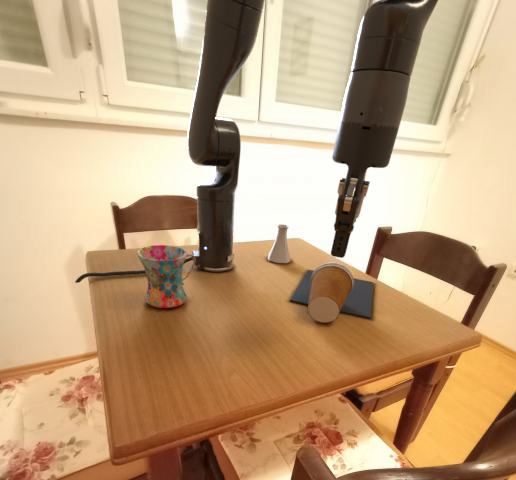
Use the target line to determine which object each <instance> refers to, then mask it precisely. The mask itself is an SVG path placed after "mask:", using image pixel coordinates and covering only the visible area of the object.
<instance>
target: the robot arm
mask: <svg viewBox="0 0 516 480" xmlns="http://www.w3.org/2000/svg"><path fill="white" fill-rule="evenodd" d="M265 1H266V0H207V2H206V8H205V17H204V19H205V20H204V31H203V38H202V48H201V54H200V61H199V70H198V76H197V82H196V86H195V91H194V95H193V96H194V97H193V102H192V106H191V112H190V117H189V123H188V129H187V138H186V139H187V140H186V141H187V151H188V156H189V158H190V160H191V161H192V163H194V165H197V166H201V167H214V172H213V173H212V174H211V175H210V176H209V177H208V178H207V179H205V180H203V181H201V182H200V181H199V183H198V184H197V185H196V216H197V217H196V219H197V226H196V250H192V253H191V254H192V255H193V256H194V257H195V259H196V263H195V266H198V269H199V271H206V272H210V273H212V272H213V273H221V272H228V271H230V270H231V269H233V267H234V263H233V262H234V261H233V260H234V259H235V253H234V232H235V231H234V230H235V229H234V228H235V205H236V204H235V202H236V201H235V199H236V192H237V189H238V185H239V173H240V162H241V149H242V148H241V147H242V141H241V133H240V129H239V127H238V125H237V123H236V122H235V120H233V119H230V118H225V117H224V118H223V117H217V115H218V110H219V107H220V105H221V104H220V103H221V101H222V98H223V96H224V94H225V92H226V91H227V89H228V87H229V85H230V84H231V82H232V81H233V80H234V78H235V77H236V76H237V74H238V73H239V72H240V70H241V69H242V68H243V66H244V65H245V63H246V62H247V60H248V59H249V57H250V56H251V53H252V52H253V49H254V47H255V44H256V42H257V37H258V33H259V30H260V24H261V19H262V16H263V10H264V6H265ZM438 2H439V0H377V1H375V2H373V3H372V4H370V5H369V6H368V7H367V9H366V10H365V12H364V13H363V15H362V18H361V21H360V24H359V29H358V33H357V38H356V43H355V47H354V52H353V53H354V54H353V59H352V63H351V69H350V73H349V74H350V75H349V78H348V82H347V85H346V88H345V91H344V95H343V99H342V104H341V108H340V109H341V110H340V115H339V121H338V125H337V130H336V135H335V141H334V147H333V150H332V151H333V152H332V157H331V158H332V161H333V162H334V163H337V164H341V165H346V166H347V172H346V176H345V177H341V179H340V180H339V182H338V187H337V195H338V196H337V200H336V205H335V209H334V214H335V221H334V223H333V230H334V236H333V241H332V245H331V249H330V255H331V256H332V257H335V258H339V259H343V258H345V256H346V253H347V250H348V246H349V241H350V238H351V235H352V232H353V231H354V228H355V223H356V222H357V219H358V218H359V217H360V214H361V210H362V207H363V203H364V201H365V200H364V199H365V198H366V197H367V194H368V191H369V187H370V183H371V181H369V180H366V175H367V171H368V170H369V168H374V169H384V168H387V167H388V166H389V164H390V162H391V158H392V155H393V149H394V147H395V144H396V140H397V137H398V133H399V129H400V127H401V122H402V119H403V114H404V111H405V108H406V104H407V99H408V95H409V88H410V83H411V78H412V75H413V71H414V67H415V64H416V60H417V57H418V53H419V50H420V46H421V42H422V38H423V34H424V31H425V29H426V26H427V24H428V22H429V20H430V18H431V16H432V14H433V12H434V10H435V8H436V6H437V4H438ZM191 261H193V258H192V257H191V256H189V257H186V258H185V261H184V264H186V263H189V262H191ZM184 264H183V265H184ZM127 275H146V272H145V269H141V270H140V269H139V270H121V271H120V270H119V271H107V272H86V273H83V274H82V275H79V277H77V279H75V281H74V283H76V284H78V283H81V282H82V281H83V280H84V279H86V278H89V277H111V276H113V277H114V276H127Z"/></svg>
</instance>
